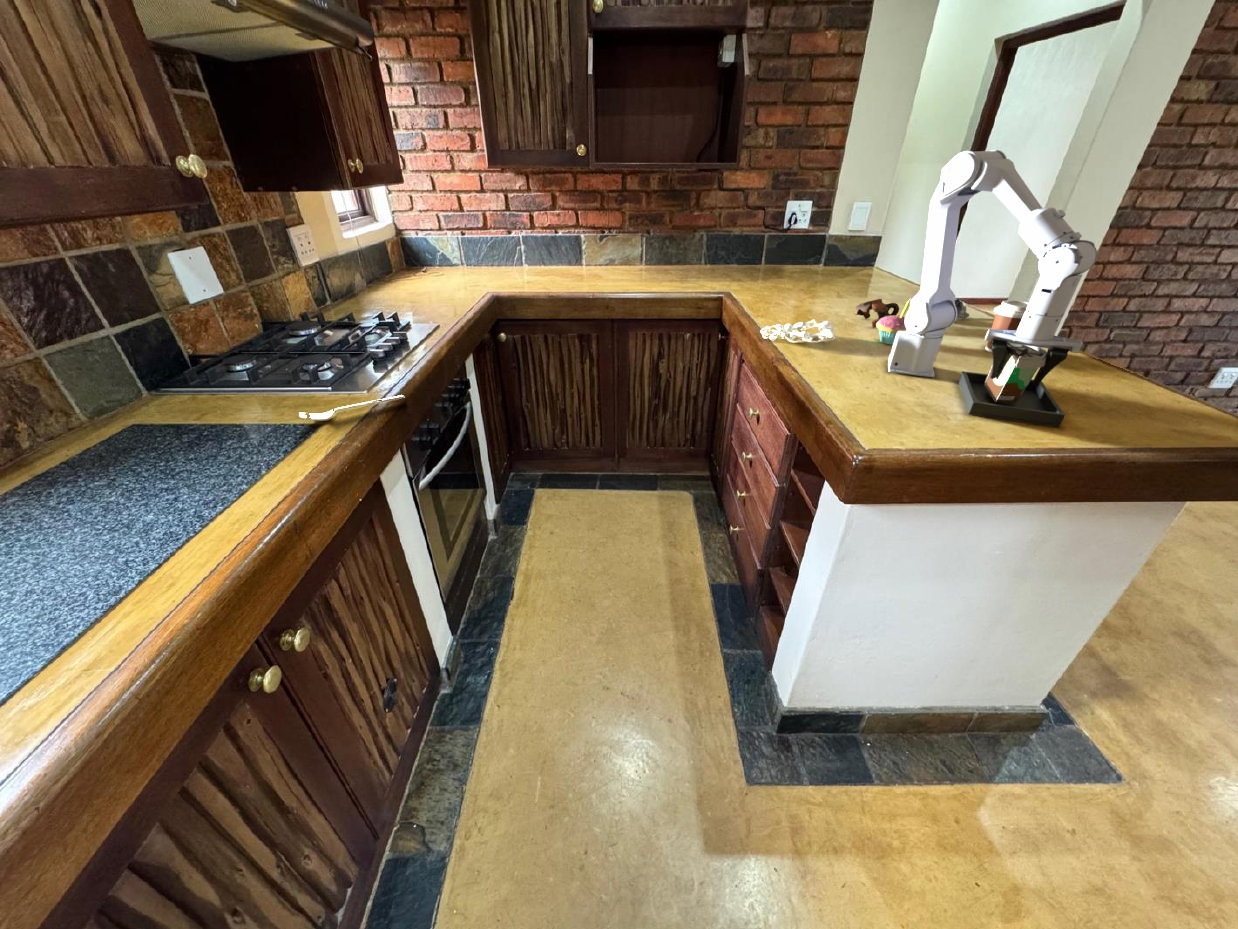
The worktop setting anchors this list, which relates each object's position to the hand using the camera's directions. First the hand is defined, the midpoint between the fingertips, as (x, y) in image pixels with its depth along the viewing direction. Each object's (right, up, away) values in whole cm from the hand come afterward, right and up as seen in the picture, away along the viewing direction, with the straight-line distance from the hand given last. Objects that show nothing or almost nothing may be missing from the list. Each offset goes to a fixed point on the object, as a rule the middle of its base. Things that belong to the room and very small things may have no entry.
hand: (1013, 380), depth 98 cm
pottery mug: (-2, +26, +50) cm, 56 cm away
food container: (0, -3, +2) cm, 3 cm away
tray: (0, -4, +3) cm, 5 cm away
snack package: (+22, +28, +52) cm, 63 cm away
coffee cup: (+19, +13, +28) cm, 37 cm away
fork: (-135, -6, +5) cm, 135 cm away
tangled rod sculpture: (-29, +18, +38) cm, 51 cm away
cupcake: (-5, +17, +35) cm, 39 cm away
